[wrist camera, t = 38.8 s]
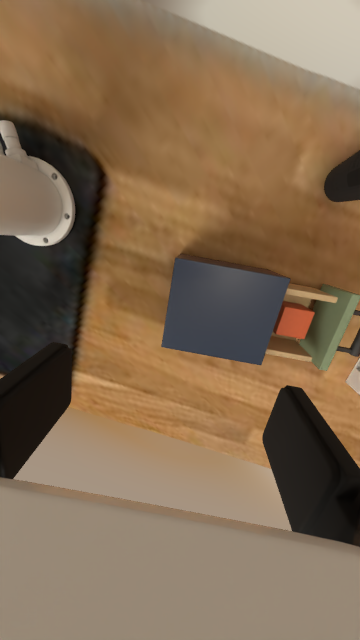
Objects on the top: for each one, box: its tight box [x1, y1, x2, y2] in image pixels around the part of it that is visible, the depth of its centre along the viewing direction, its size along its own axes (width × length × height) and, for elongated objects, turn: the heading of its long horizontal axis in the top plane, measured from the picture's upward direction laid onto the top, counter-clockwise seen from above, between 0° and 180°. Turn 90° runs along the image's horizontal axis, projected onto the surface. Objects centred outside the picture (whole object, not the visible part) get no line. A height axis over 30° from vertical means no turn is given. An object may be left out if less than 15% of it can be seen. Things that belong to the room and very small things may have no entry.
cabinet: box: [161, 254, 290, 365], centre depth 35 cm, size 15×13×9 cm
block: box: [273, 301, 315, 339], centre depth 35 cm, size 4×4×4 cm
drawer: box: [265, 283, 360, 371], centre depth 35 cm, size 19×12×7 cm, turn 80°
